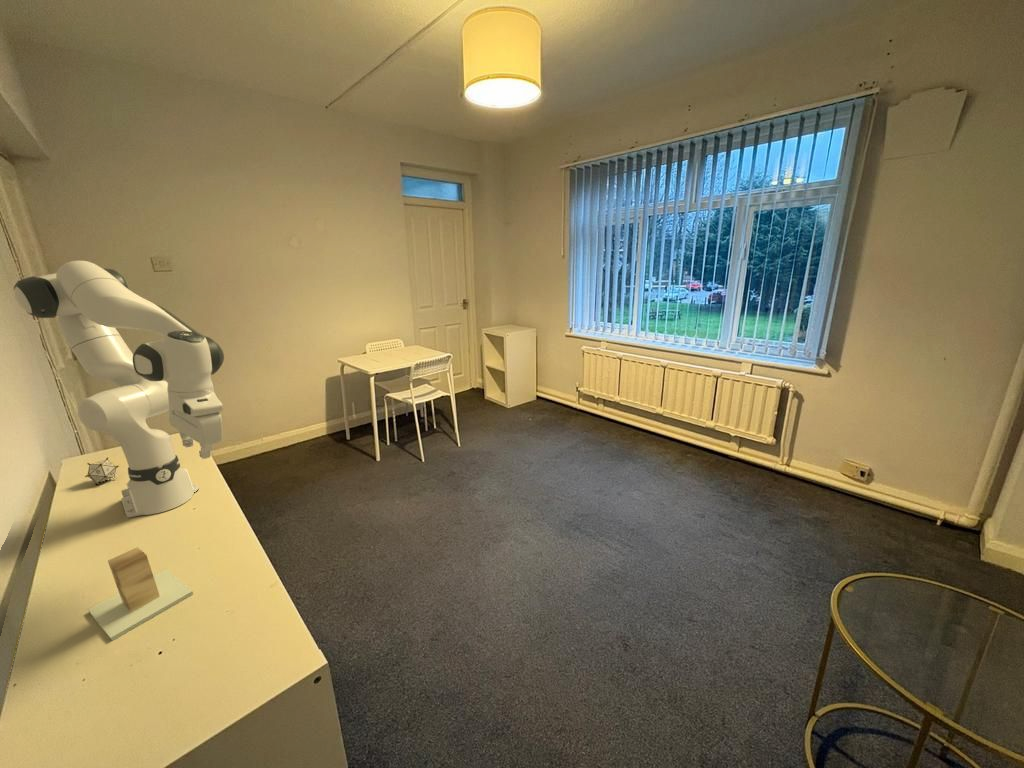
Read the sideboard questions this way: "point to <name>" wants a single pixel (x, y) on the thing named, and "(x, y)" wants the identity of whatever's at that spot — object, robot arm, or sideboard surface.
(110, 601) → the sage mat
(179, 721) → the sideboard surface
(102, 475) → the game die
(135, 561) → the maple block
